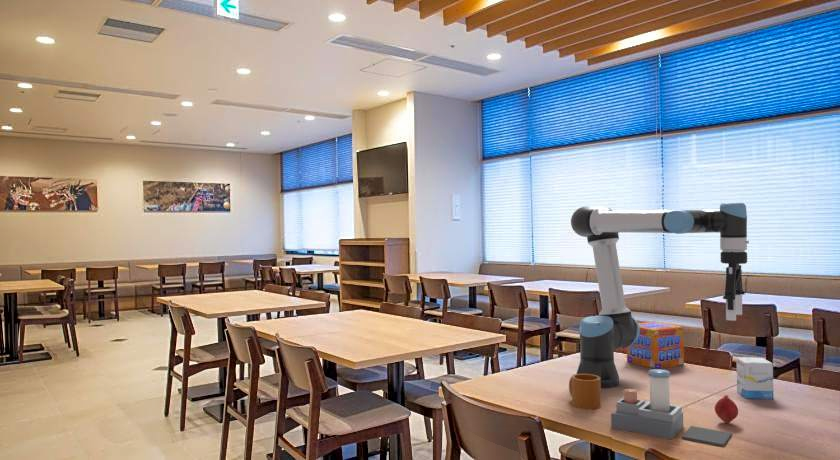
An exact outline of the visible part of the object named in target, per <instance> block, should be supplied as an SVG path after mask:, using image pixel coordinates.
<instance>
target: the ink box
mask: <svg viewBox="0 0 840 460" xmlns="http://www.w3.org/2000/svg"><path fill="white" fill-rule="evenodd" d="M735 360H736V392H738V393H739V394H740V395H741V396H742V397H744V398H745V399H759V400H760V399H761V400H762V399H766V400H767V399H768V400H769V399H770V400H774V395H775V394H774V367H773V366H774V365H773V364H774V363H773V362H771V361H769V360H767V359H766V358H763V357H749V356H747V357H745V356H743V357H736V359H735Z"/></svg>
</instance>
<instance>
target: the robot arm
mask: <svg viewBox="0 0 840 460" xmlns="http://www.w3.org/2000/svg"><path fill="white" fill-rule="evenodd" d="M570 225H571V229H572V230H573V232H574V233H576V234H577V235H578V236H581V237H583V238H586V239H587V244H588V245H589V246H591V247H592V251H593V257H594V258H593V259H594V263H595V264H594V265H595V271H596V277H597V278H596V279H597V283H598V284H597V285H598V290H599V291H598V292H599V296H600V302H601V311H599V313H598V315H594V316H593V315H590V316H586V317H584V318H582V319H581V320H580V322H579V328H578V329H579V330H578V331H579V355H580V356H579V358H580V360H579V362H578V363H579V365H578V366H577V370H576V373H575V374H593V375H597V376H599V377H600V378H601V389H602V388H613V387H617V386H619V385H620V375H619V373H618V369H617V367H616V364H615V359H614V358H615V356H614V354H615V352H614V351H615V350H619V349H625V348H626V349H627V347H628V346H630V345H632V344H634V343H635V342H636V341H637V339H638V337H639V334H640V328H639V324H638V323H639V322H638V321H637V320H636V319H635V318H634V317H633V316H632V310H631V309H629V308H628V307H627V305H626V301H625V300H626V299H625V294H624V293H625V292H624V287H623V281H622V275H621V268H620V264H619V263H620V262H619V261H620V260H619V256H618V249H617V243H618V241H619V240H620V237H619V233H634V234H635V233H637V234H638V233H641V234H642V233H647V234H648V233H650V234H651V233H652V234H653V233H654V234H659V233H660V234H663V233H664V234H677V235H679V234H680V235H681V234H693V233H695V234H696V233H697V234H698V233H704V234H705V233H720V237H719V241H720V242H719V243H720V244H719V247H720V248H719V250H721V252H720V263H722V264H728V267H727V266H726V268H725V288H724V295H723V296H722V299H723V300H725V320H726V321H734V322H736V321H737V316H742V315H743V295H745V293H746V291H744V287H743V278H742V277H743V276H742V275H743V274H742V272H743V270H742V265H745V264H747V263H748V252H747V250H748V244H749V243H750V241H749V240H747V238H748V234H747V233H748V231H747V230H748V228H747V227H748V213H747V205H746V204H745V203H744V202H723V203H721V204H720V205H719V209H676V208H675V209H658V210H657V209H654V210H652V209H651V210H650V209H649V210H616V209H614V208H612V207H609V206H604V205H602V206H590V205H588V206H587V205H585V206H581V207H579V208H577V209H576V210H575V211H574V212H573V213H572V215H571V217H570Z"/></svg>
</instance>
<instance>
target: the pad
mask: <svg viewBox="0 0 840 460" xmlns="http://www.w3.org/2000/svg"><path fill="white" fill-rule="evenodd" d="M731 437H732V433H731V432H728V431H722V430H718V429H716V430H715V429H711V428H705V427H700V426H695V425H691V426H689V428H687V430H686V431H685V432H684V433H683V434H682V436H681V440H686V441H692V442H697V443H702V444H707V445H713V446H718V447H722V448H724V447H725V445H726V444H727V443H728V442H729V440H730V438H731Z"/></svg>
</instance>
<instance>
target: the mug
mask: <svg viewBox="0 0 840 460" xmlns="http://www.w3.org/2000/svg"><path fill="white" fill-rule="evenodd" d="M601 389H602V388H601V378H600V377H599V376H597V375H593V374H576V373H575V374H572V375H571V376H570V379H569V381H568V390H569V394H570V397H571V404H572V407H574V408H577V409H582V410H596V409H600V408H601V407H602V405H601V403H602V400H601V399H602V398H601V397H602V390H601Z"/></svg>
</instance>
